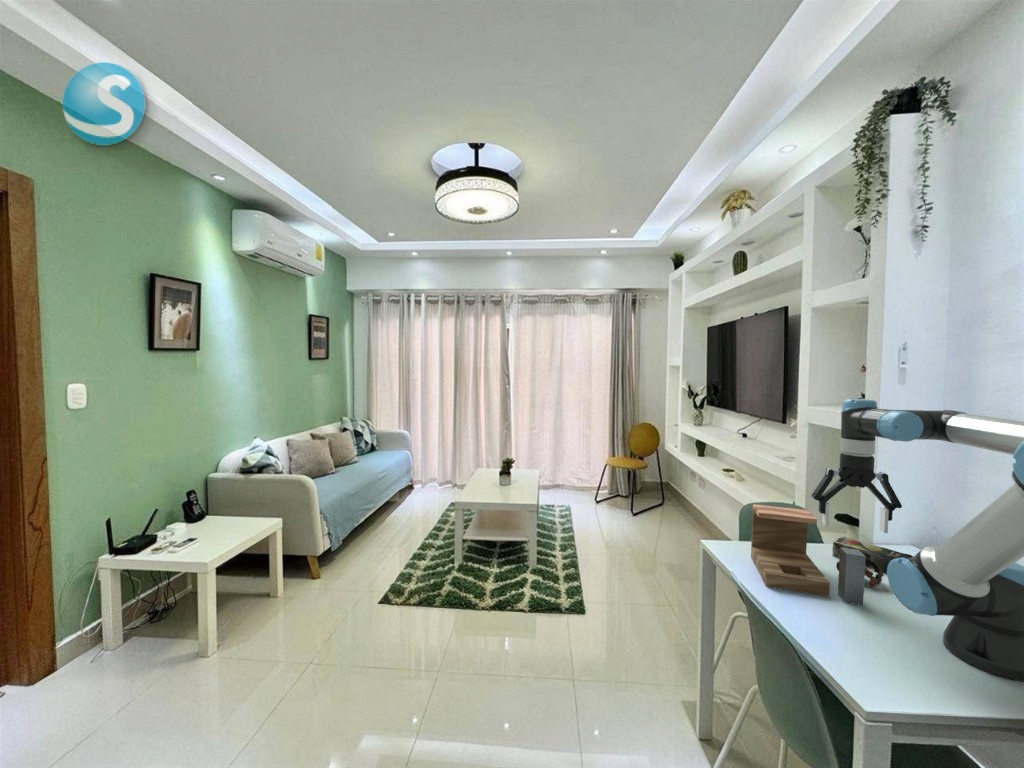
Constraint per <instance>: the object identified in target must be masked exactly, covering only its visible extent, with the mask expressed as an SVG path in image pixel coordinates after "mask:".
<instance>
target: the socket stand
mask: <svg viewBox="0 0 1024 768" xmlns="http://www.w3.org/2000/svg"><path fill="white" fill-rule="evenodd" d="M751 519H752V521H751V544H750V547H751V548H750V557H751V560H752V562H753V564H754V565H755V567H756V569H757V572H758V573H759V575H760V577H761V579H762V582H763V583H764V585H765V587H767V586H770V587H769V588H773V587H776V588H775V589H779V588H782V589H781V590H785V589H788V590H787V591H792V592H799V593H804V594H811V595H817V596H823V597H824V596H825V597H830V590H831V589H830V588H831V587H830V586H831V583H830V581H829V580H828V579H827V577H826V576H825V575H824V574H823V572H821V570H820V569H819V568H818V566H817V565H816V564H815V563H814V561H812V559H811V558H810V557H809V555H808V554H807V547H808V546H807V543H808V524H813V525H814V524H815V525H817V524H818V519H817V517H815V516H814V515H813V514H812V513H811V512H810V511H809V510H808V509H803V508H802V509H801V508H792V507H781V506H774V505H773V506H772V505H764V504H763V505H762V504H755V503H754V504H752V518H751Z"/></svg>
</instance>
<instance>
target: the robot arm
mask: <svg viewBox="0 0 1024 768" xmlns="http://www.w3.org/2000/svg"><path fill="white" fill-rule="evenodd" d="M840 414H841V418H840V419H841V422H840V424H841V425H840V428H841V429H840V449H839V450H840V451H841V453H839V468H838V469H832V468H831V467H826V468H825V471H824V472H825V473H824V475H823V477H822V479H821V480H820V482H819V483H818V485H817V486H816V487H815V489H814V491H813V492H812V493H811V498H813V500H815V501H817V502H818V512H819V513H820V514H822V517H821V518H822V519H821V521H822V522H821V523H822V524H823V525H824V526H825V527H829V525H830V523H829V522H830V505H831V504H830V503H829V501H830V500H831V498H833V497H834V496H835V495H836V494H838V493H839V492H840V491H841V490H843V489H844V488H846V487H851V488H857V487H858V488H861V489H864V488H867V489H868V490H869V491H870V492H871V493H872V494H873V496H875V498H876V499H877V500H878V501H879V502H880V503H881V504H882V505H883V506H879V507H880V511H879V513H880V514H879V531H880V532H882V533H884V534H888V533H889V522H890V521H892V520H893V511H895V510H896V509H902V507H903V505H902V503H901V501H900V500H899V497H898V496H897V494H896V492H895V491H894V489H893V487H892V485H891V483H890V480H889V479H890V477H889V475H888V474H887V473H885V472H883V471H879V472H875V470H874V469H875V456H874V455H875V454H876V437H877V438H882V439H886V440H890V441H894V442H897V441H899V442H905V443H907V442H912V441H915V440H919V441H920V440H930V441H931V440H932V441H943V442H948V443H953V444H957V445H958V444H959V445H962V446H963V445H964V446H968V447H973V448H978V449H983V450H987V451H992V452H997V453H1002V454H1006V455H1011V456H1012V458H1013V459H1015V462H1013V463H1012V469H1013V470H1012V472H1011V475H1010V476H1011V479H1012V482H1013V483H1014V484H1013V485H1012V486H1010V487H1009V488H1008V489H1007V490H1005V491H1004V492H1003V493H1002V494H1000V496H998V497H997V498H996V499H995V500H994V501H993V502H991V503H990V504H989V505H988V506H986V507H985V508H984V509H983V510H982V511H981V512H979V513H978V514H976V516H975V517H974V518H972V519H970V521H968V522H967V523H966V524H965V525H964V526H962V527H961V528H959V530H958V531H956V533H954V534H953V535H952V536H951V537H949V538H948V539H947V540H946V541H944V542H943V543H941V545H940V544H939V545H938V544H929V545H927V546H925V547H923V548H922V549H921V550H919V551H918V552H917V553H916V554H915V555H914V556H913V557H912V558H903V557H901V558H896V559H893V560H891V561H890V563H889V564H888V567H887V573H886V575H887V581H888V585H889V587H890V589H891V591H892V593H893V595H894V596H895V597H896V599H897V600H898V602H900V604H902V605H903V606H904V607H905V608H906V609H907V610H909V611H912V613H915V614H918V615H927V616H930V617H933V616H948V617H949V616H951V617H952V616H953V617H952V618H951V619H950V621H949V623H948V624H947V627H946V628H945V629H944V631H943V635H942V643H943V645H944V647H945V648H946V650H948V651H949V652H950V653H951V654H952V655H954V656H955V657H957V658H959V659H960V660H962V661H963V662H965V663H967V664H969V665H971V666H973V667H974V668H975V667H976V668H978V669H980V670H982V671H984V672H987V673H990V674H992V675H996V676H998V677H1002V678H1006V679H1009V680H1013V681H1019V682H1024V565H1021V564H1018V563H1017V562H1018V561H1019V560H1021V559H1023V558H1024V421H1023V420H1022V421H1020V420H1016V419H1015V420H1014V419H1007V418H1000V417H994V416H993V417H991V416H985V415H984V416H983V415H978V414H977V415H976V414H969V413H966V412H965V411H961V410H959V411H958V410H952V409H951V410H950V409H943V410H923V409H922V410H917V409H885V408H879V407H878V403H877V401H876V400H873V399H860V398H847V399H845V400H843V402H842V406H841V412H840ZM837 475H838V476H839V479H837V480H836V481H835V483H834V484H833V485H832V486H831V487H829V488H828V486H829V485H830V483H831V482H832V481H833V480H834V479H833V478H835V477H836V476H837ZM875 479H877V481H879V483H880V484H881V486H882V488H883V490H884V492H885V494H886V495H887V497H888V499H889V500H888V499H887V498H886V497H885V496H884V495H883V494H882V492H880V490H878V488H877V487H876V485H875V484H874V483H872V481H874V480H875ZM827 488H828V489H827ZM889 501H890V502H889Z"/></svg>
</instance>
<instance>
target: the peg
mask: <svg viewBox="0 0 1024 768" xmlns="http://www.w3.org/2000/svg"><path fill="white" fill-rule="evenodd" d="M838 559H839V561H838V562H839V571H838V583H837V595H838V597H839V598H840V599H841V600H842V602H843V601H844V602H847V603H846V604H850V603H854V604H853V605H856V604H860V605H859V606H862V605H863V606H864V598H865V595H864V594H865V577H866V575H865V561H866V556H865V555H864V554H863V553H861V552H860V551H859V550H856V549H848V548H840V558H838ZM844 602H843V603H844Z"/></svg>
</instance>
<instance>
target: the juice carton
mask: <svg viewBox="0 0 1024 768" xmlns="http://www.w3.org/2000/svg"><path fill="white" fill-rule="evenodd" d="M840 548H848V549H856V550H859V551H860V552H861V553H863V554H864V555H865V556H866V558H868V559H870V560H872V561H873V562H875V563H876V564H877V565H878V566H879V567H880V568H881V569H882V571H883V574H887V567H888V564H889V563H890V561H891V560H893V559H896V558H901V557H903V558H912V557H914V556H913V555H911V554H909V553H904V552H900V551H896V550H893V549H890V548H885V547H883V546H879V545H876V544H872V543H869V542H864V541H861V540H857V539H853V538H850V537H846V536H840V537H837V539H836V540H835V541H832V546H831V550H832V551H831V552H832V557H834V558H837V559H840ZM865 567H866V568H867V569H871V570H874V568H873V566H870V565H867V564H865Z"/></svg>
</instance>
